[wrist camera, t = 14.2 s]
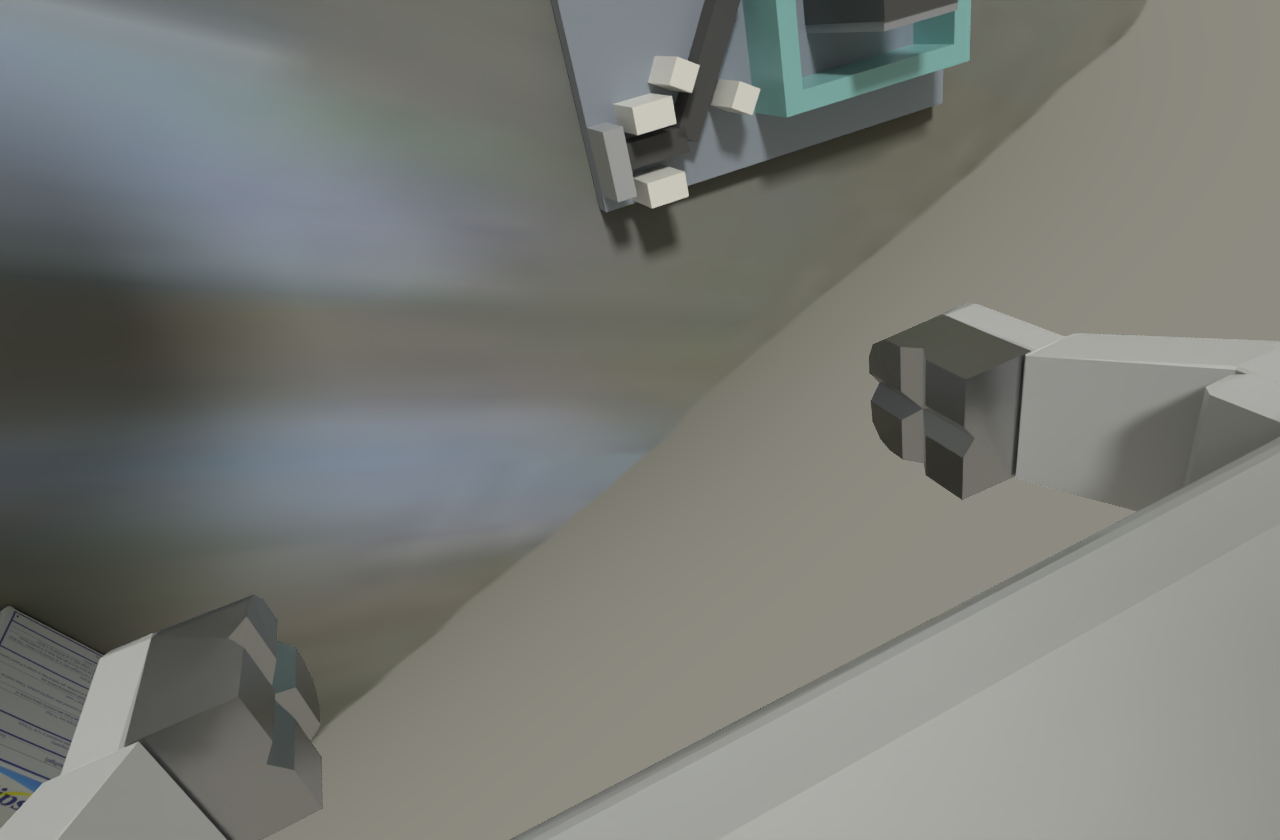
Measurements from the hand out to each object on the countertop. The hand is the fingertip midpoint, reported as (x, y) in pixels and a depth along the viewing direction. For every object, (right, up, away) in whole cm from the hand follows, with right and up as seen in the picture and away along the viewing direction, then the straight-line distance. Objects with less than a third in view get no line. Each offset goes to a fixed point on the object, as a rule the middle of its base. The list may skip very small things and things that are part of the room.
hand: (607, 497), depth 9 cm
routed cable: (+2, +18, +26) cm, 31 cm away
